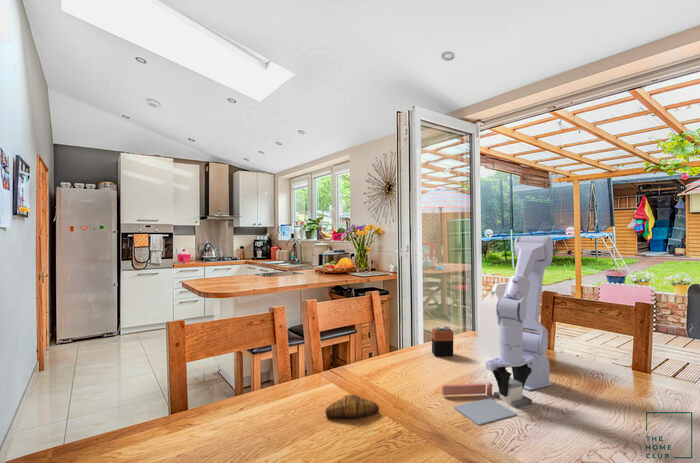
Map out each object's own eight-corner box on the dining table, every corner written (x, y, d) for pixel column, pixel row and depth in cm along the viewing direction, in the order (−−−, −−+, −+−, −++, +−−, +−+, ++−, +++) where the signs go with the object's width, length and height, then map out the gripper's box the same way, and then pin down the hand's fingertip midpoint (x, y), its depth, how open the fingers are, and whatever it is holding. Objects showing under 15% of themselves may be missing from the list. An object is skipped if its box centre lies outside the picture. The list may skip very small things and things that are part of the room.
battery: (453, 356, 131) (453, 328, 130) (435, 357, 130) (435, 329, 130) (449, 352, 135) (449, 325, 135) (431, 352, 134) (431, 325, 134)
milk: (502, 362, 125) (503, 286, 125) (476, 352, 135) (477, 282, 135) (525, 356, 131) (526, 284, 130) (499, 347, 141) (499, 280, 141)
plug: (510, 395, 100) (510, 377, 100) (522, 402, 96) (522, 383, 96) (499, 398, 99) (499, 379, 98) (510, 404, 95) (511, 385, 95)
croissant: (375, 405, 94) (375, 386, 94) (382, 419, 88) (382, 398, 88) (323, 410, 92) (323, 390, 92) (326, 424, 85) (326, 403, 85)
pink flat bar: (493, 395, 100) (493, 384, 100) (443, 397, 99) (443, 386, 99) (490, 393, 101) (490, 382, 101) (441, 395, 100) (441, 384, 100)
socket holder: (510, 392, 102) (510, 388, 102) (531, 403, 96) (531, 399, 95) (493, 395, 100) (493, 392, 100) (514, 407, 93) (514, 404, 93)
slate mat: (489, 399, 98) (489, 398, 98) (516, 415, 89) (516, 414, 89) (453, 407, 93) (453, 406, 93) (478, 425, 85) (478, 424, 85)
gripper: (521, 336, 103) (521, 384, 103) (478, 341, 99) (478, 390, 99) (541, 344, 97) (541, 394, 97) (496, 349, 92) (496, 402, 92)
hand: (510, 393), depth 97 cm, fingers closed on plug, 4 cm apart
